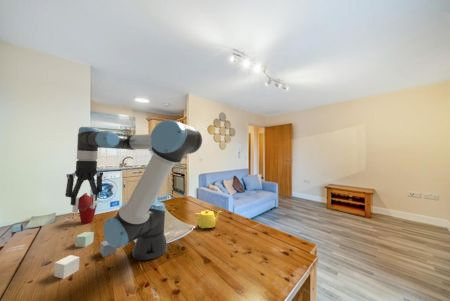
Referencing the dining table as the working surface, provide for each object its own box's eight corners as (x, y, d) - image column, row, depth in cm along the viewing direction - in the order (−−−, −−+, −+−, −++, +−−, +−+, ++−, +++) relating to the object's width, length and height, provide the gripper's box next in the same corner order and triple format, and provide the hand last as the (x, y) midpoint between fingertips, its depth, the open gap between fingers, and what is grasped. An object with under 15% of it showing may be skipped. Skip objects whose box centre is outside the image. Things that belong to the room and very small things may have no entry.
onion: (82, 213, 73) (83, 195, 73) (72, 212, 74) (73, 194, 74) (95, 209, 78) (96, 192, 79) (85, 208, 80) (86, 191, 80)
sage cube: (93, 242, 86) (93, 232, 86) (85, 247, 81) (85, 236, 81) (83, 241, 86) (84, 232, 86) (75, 246, 81) (75, 236, 81)
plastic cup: (86, 219, 115) (87, 201, 116) (100, 220, 114) (102, 202, 115) (70, 225, 105) (72, 206, 105) (86, 226, 103) (87, 207, 104)
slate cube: (116, 252, 77) (116, 241, 77) (103, 257, 73) (103, 246, 73) (112, 248, 80) (113, 238, 80) (100, 253, 76) (100, 242, 77)
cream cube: (78, 270, 65) (79, 257, 65) (63, 279, 60) (64, 265, 60) (69, 267, 66) (70, 254, 66) (53, 276, 61) (54, 262, 61)
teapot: (220, 223, 115) (221, 207, 115) (221, 230, 104) (222, 213, 104) (194, 223, 113) (195, 207, 114) (193, 230, 102) (193, 213, 103)
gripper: (104, 159, 87) (101, 203, 86) (56, 159, 70) (52, 214, 69) (112, 160, 84) (110, 205, 83) (64, 160, 67) (60, 218, 66)
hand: (83, 209), depth 76 cm, fingers closed on onion, 6 cm apart
